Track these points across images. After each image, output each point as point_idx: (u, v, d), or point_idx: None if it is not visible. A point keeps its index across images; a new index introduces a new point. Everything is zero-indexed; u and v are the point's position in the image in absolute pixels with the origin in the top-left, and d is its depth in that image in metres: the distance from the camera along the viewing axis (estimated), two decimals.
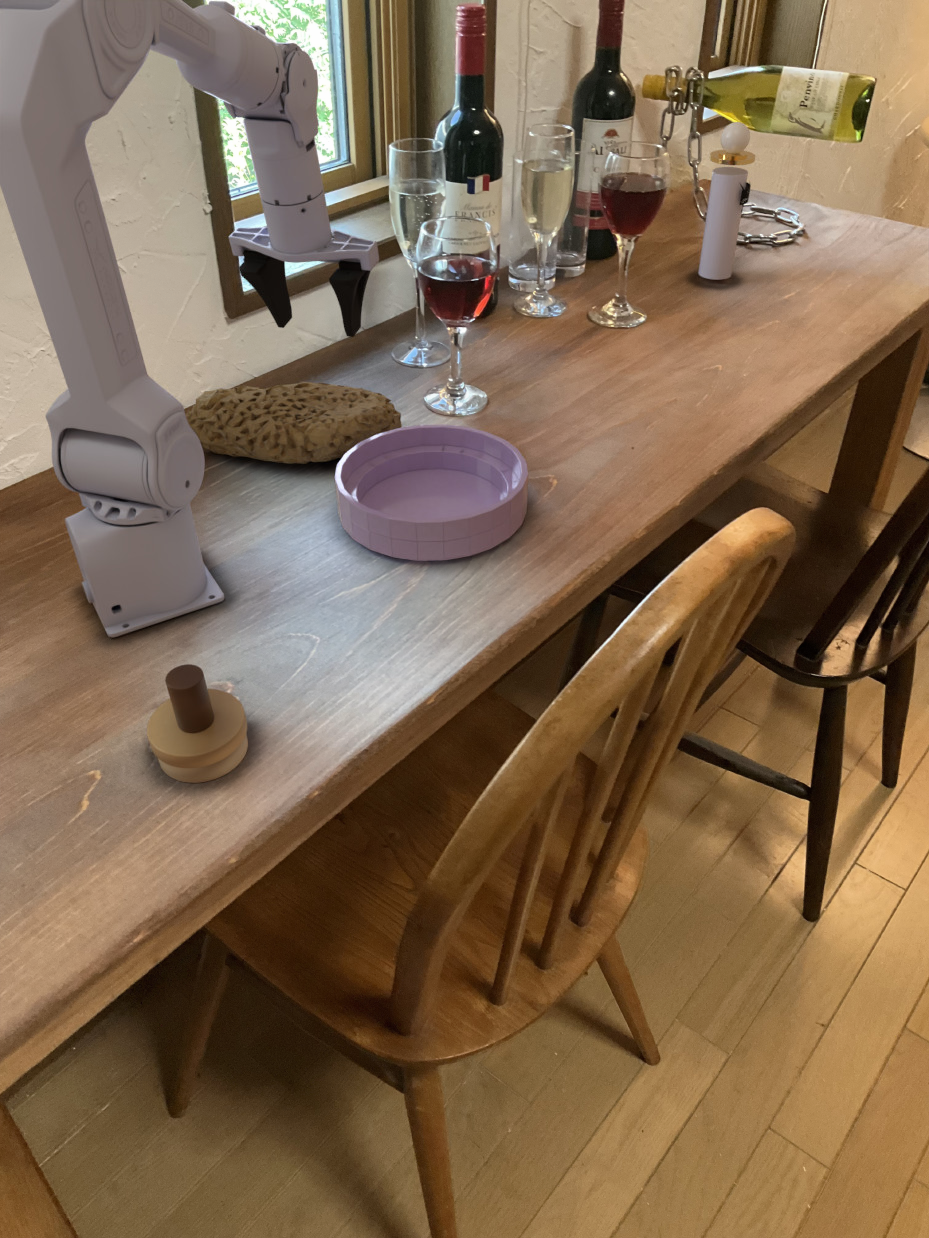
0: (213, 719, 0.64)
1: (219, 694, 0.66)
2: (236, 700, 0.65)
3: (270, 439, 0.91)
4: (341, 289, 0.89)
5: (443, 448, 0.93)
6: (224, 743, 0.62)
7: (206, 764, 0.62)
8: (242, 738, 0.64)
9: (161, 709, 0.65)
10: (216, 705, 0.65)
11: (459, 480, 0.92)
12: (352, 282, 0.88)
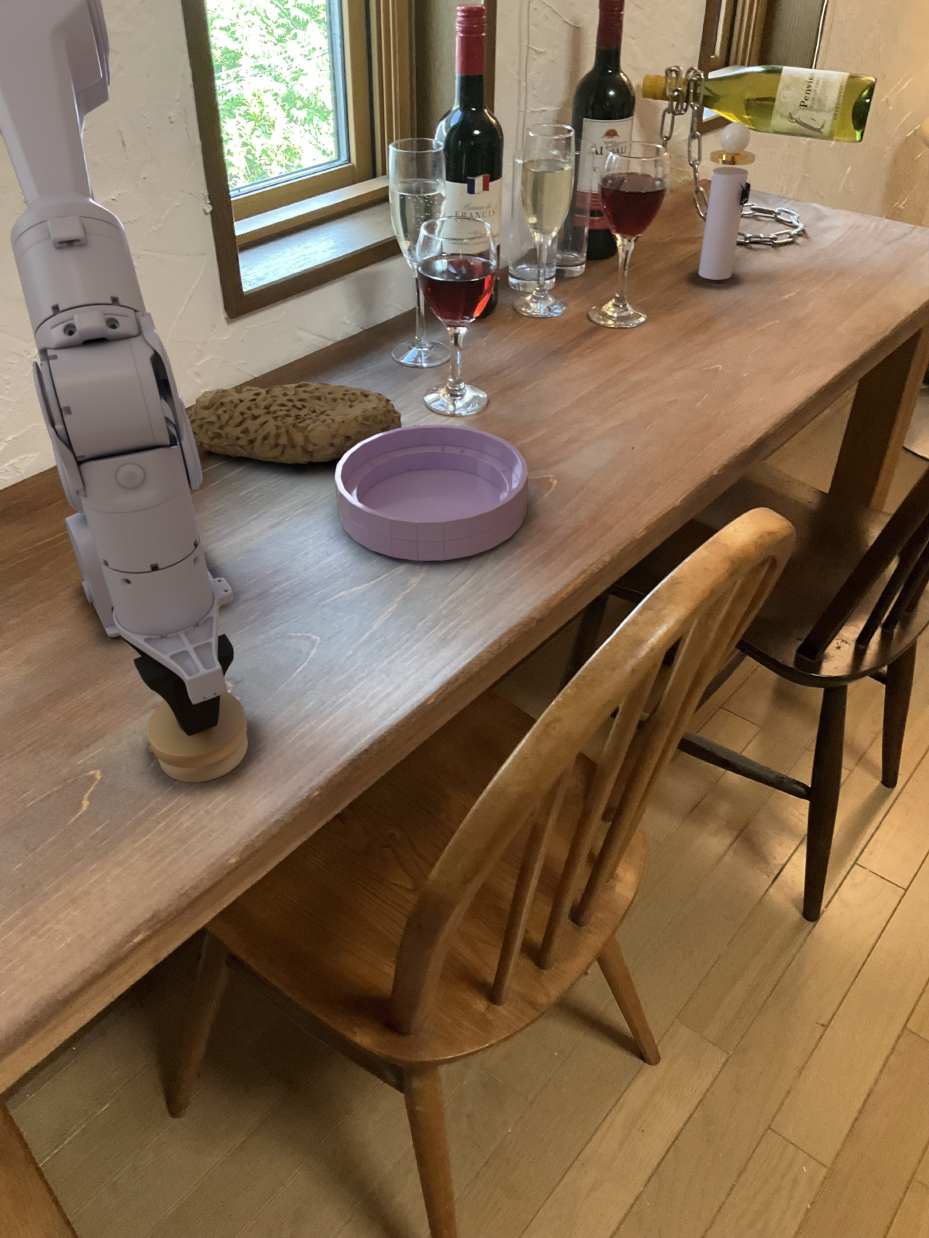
0: None
1: None
2: (236, 700, 0.65)
3: (270, 439, 0.91)
4: None
5: (443, 448, 0.93)
6: (224, 743, 0.62)
7: (206, 764, 0.62)
8: (242, 738, 0.64)
9: (161, 709, 0.65)
10: None
11: (459, 480, 0.92)
12: (150, 682, 0.56)
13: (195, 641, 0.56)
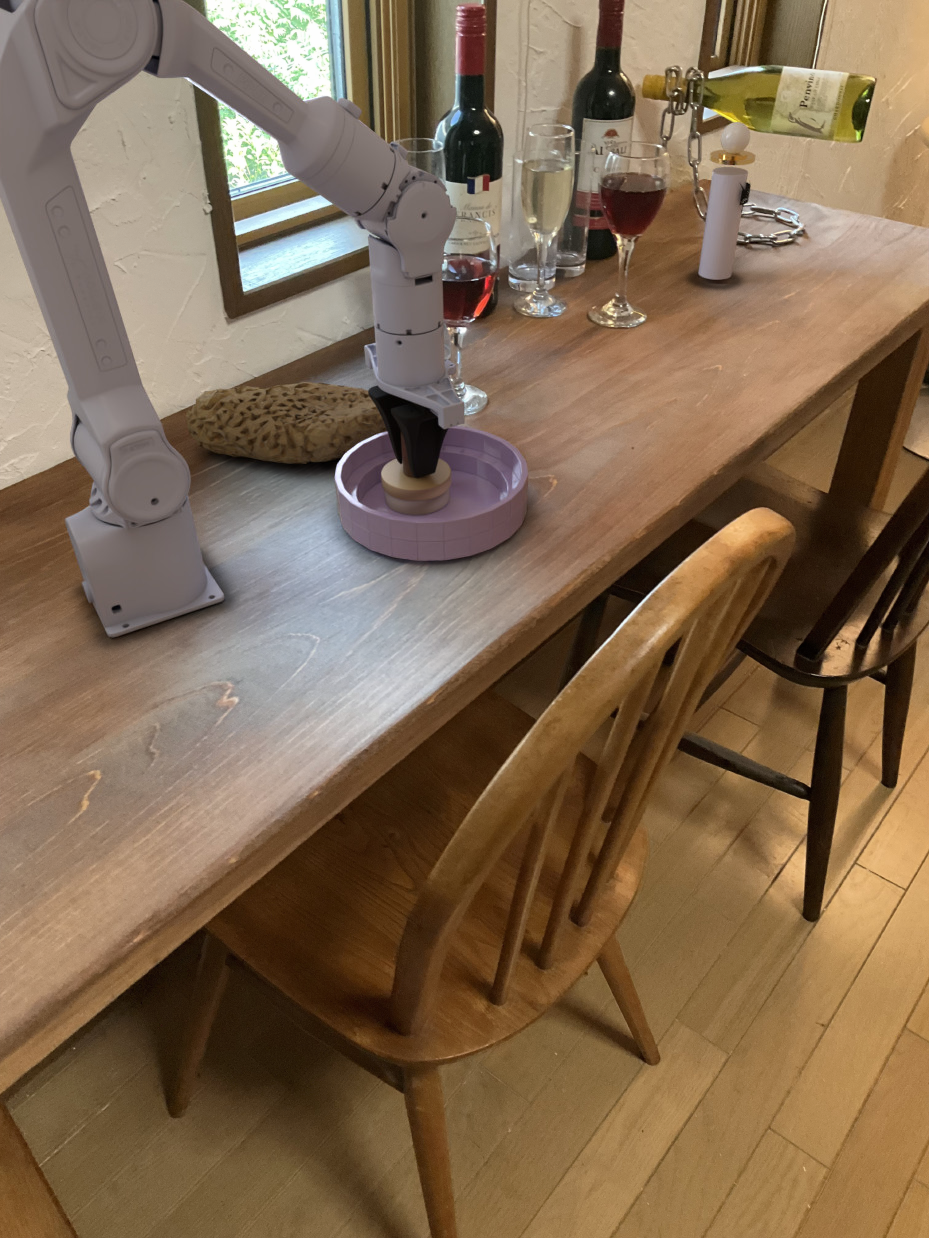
0: None
1: None
2: (442, 460, 0.89)
3: (270, 439, 0.91)
4: (400, 424, 0.81)
5: (443, 448, 0.93)
6: (440, 483, 0.86)
7: (427, 498, 0.86)
8: (450, 484, 0.88)
9: (388, 465, 0.89)
10: None
11: (459, 480, 0.92)
12: (406, 421, 0.80)
13: None
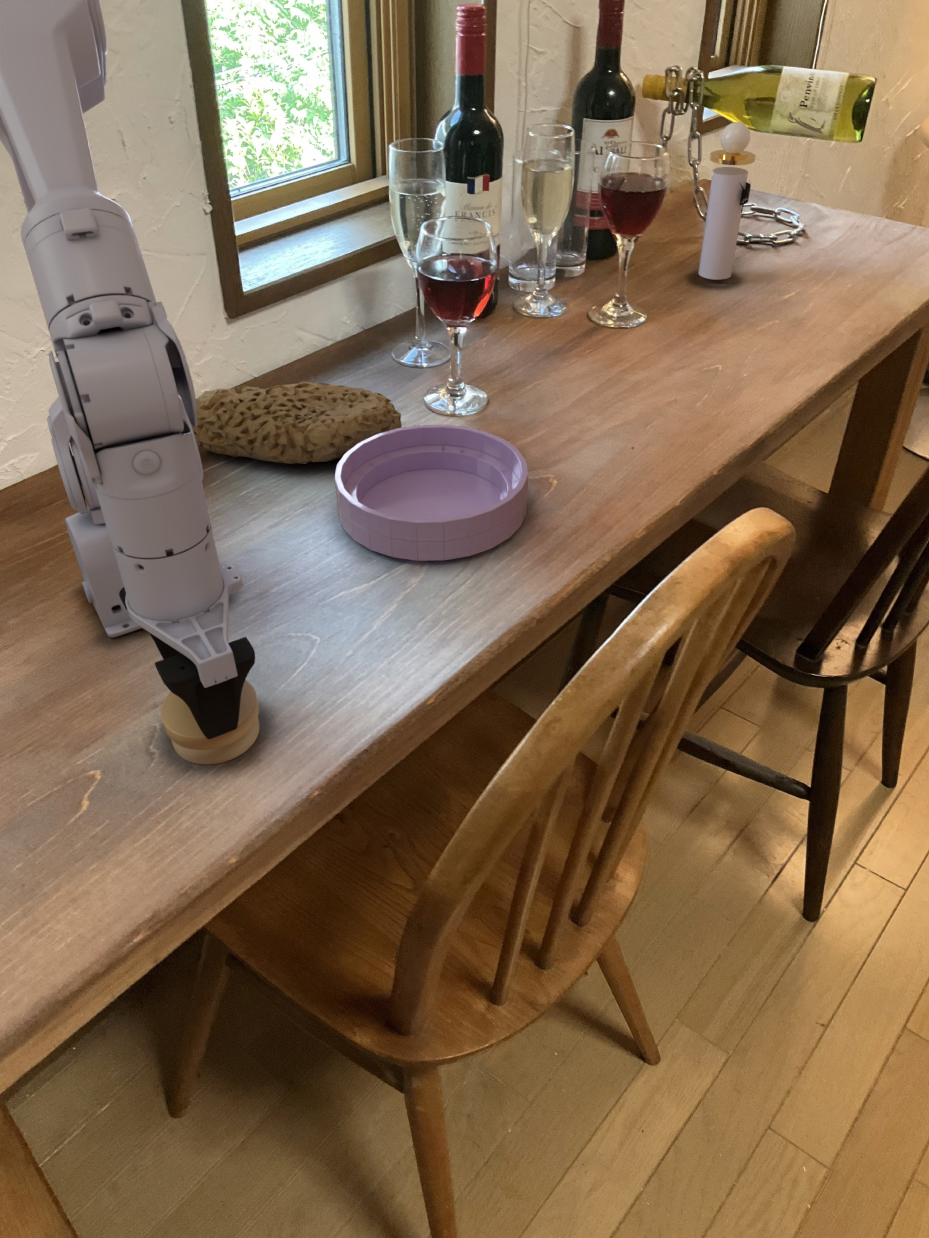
0: None
1: None
2: (247, 683, 0.67)
3: (270, 439, 0.91)
4: None
5: (443, 448, 0.93)
6: (238, 724, 0.64)
7: (220, 745, 0.63)
8: (254, 720, 0.65)
9: None
10: None
11: (459, 480, 0.92)
12: (172, 685, 0.56)
13: (206, 626, 0.57)
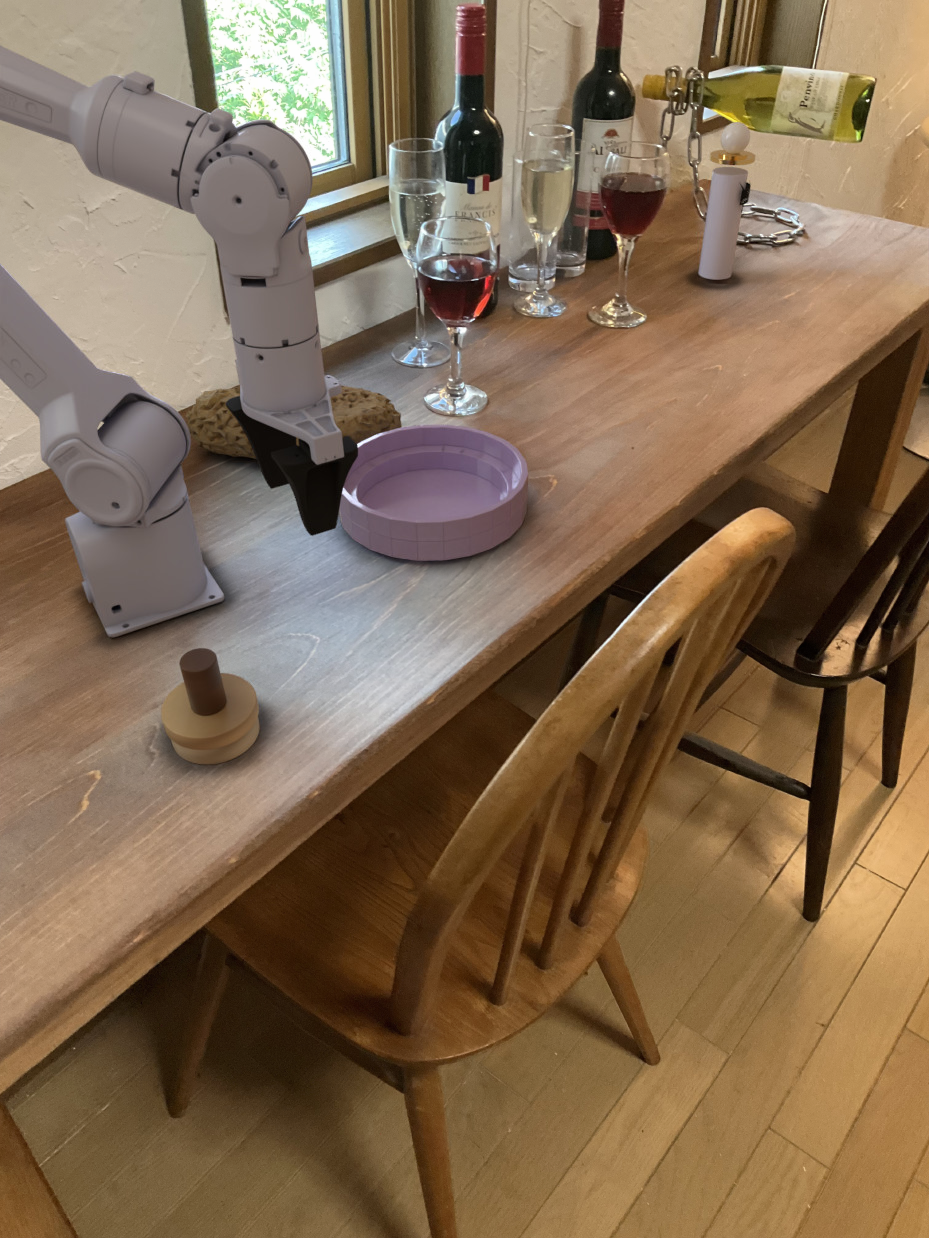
0: (226, 702, 0.65)
1: (230, 678, 0.67)
2: (247, 683, 0.67)
3: None
4: (284, 471, 0.64)
5: (443, 448, 0.93)
6: (238, 724, 0.64)
7: (220, 745, 0.63)
8: (254, 720, 0.65)
9: (174, 693, 0.66)
10: (228, 688, 0.66)
11: (459, 480, 0.92)
12: (288, 469, 0.63)
13: None
